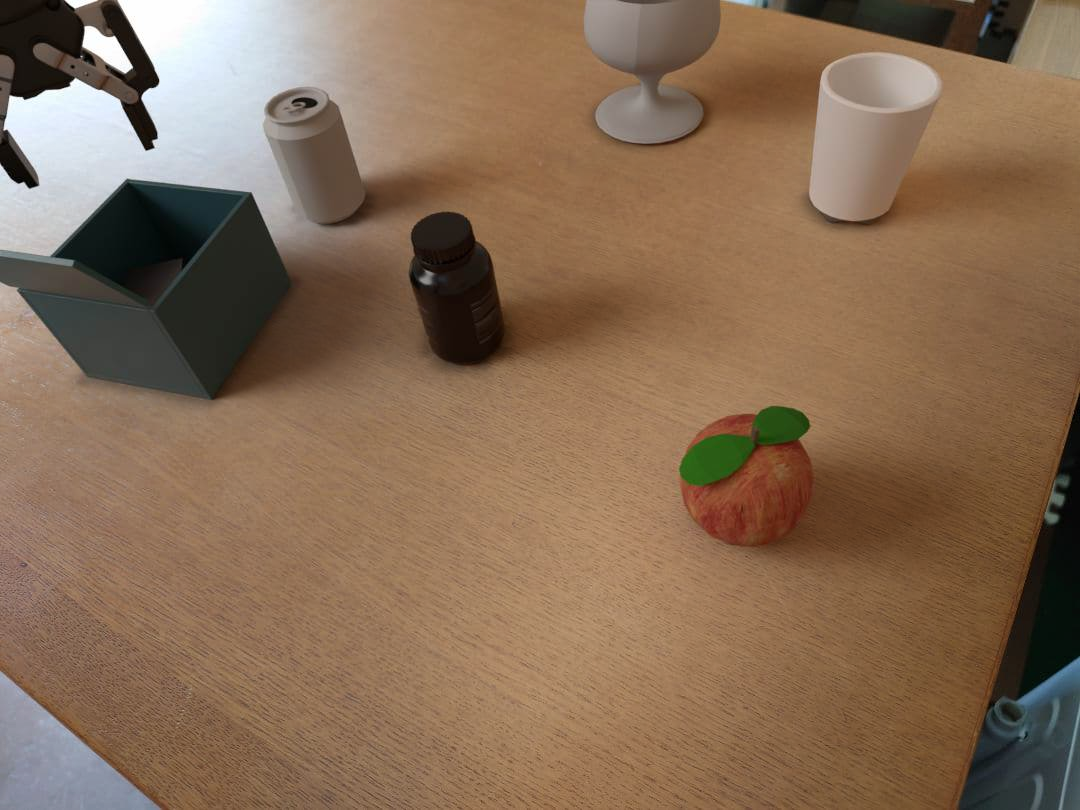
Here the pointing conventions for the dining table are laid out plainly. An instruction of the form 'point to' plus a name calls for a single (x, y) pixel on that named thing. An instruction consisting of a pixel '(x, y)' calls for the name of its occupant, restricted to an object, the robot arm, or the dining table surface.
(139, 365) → the carton
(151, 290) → the block
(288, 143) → the can
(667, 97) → the chalice
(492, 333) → the supplement bottle
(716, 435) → the fruit
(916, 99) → the cup
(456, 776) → the dining table surface
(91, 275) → the flap
